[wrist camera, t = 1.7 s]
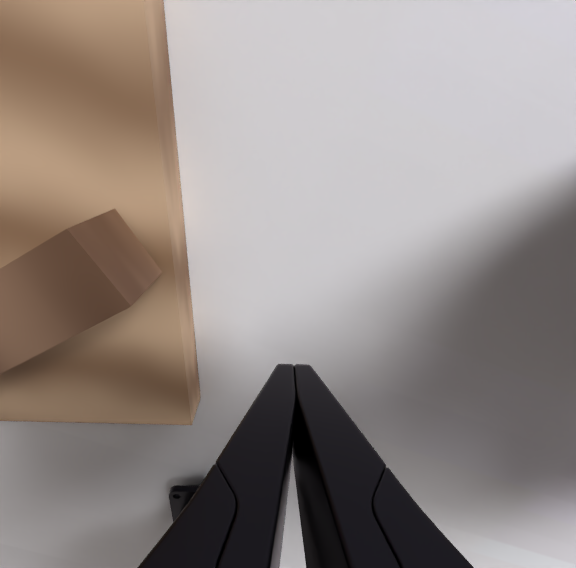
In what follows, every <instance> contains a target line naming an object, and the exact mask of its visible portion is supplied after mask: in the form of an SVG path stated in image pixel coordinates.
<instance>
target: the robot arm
mask: <svg viewBox="0 0 576 568" xmlns="http://www.w3.org/2000/svg"><path fill="white" fill-rule="evenodd" d="M292 448H293V463H294V471H295V479H296V487H297V496H298V504H299V512H300V520H301V528H302V536H303V544H304V552H305V560H306V568H474V567H473V566H472V565H471V564H470V563H469V562H468V561H467V560H466V559H465V558H464V556H463V555H462V554H461V553H460V552H459V551H458V550H457V549H456V548H455V547H454V546H453V544H452V543H451V542H450V541H449V540H448V539H447V538H446V537H445V536H444V535H443V533H442V532H441V531H440V530H439V529H438V528H437V527H436V526H435V524H434V523H433V522H432V521H431V520H430V519H429V518H428V516H427V515H426V514H425V513H424V512H423V511H422V510H421V508H420V507H419V506H418V505H417V504H416V502H415V501H414V500H413V499H412V497H411V496H410V495H409V494H408V492H407V491H406V490H405V489H404V487H403V486H402V485H401V484H400V482H399V481H398V480H397V478H396V477H395V476H394V474H393V473H392V472H391V470H390V469H389V468H386V464H385V463H384V461H383V460H382V459H381V458H380V456H379V455H378V454H377V452H376V451H375V450H374V448H373V447H372V446H371V444H370V443H369V442H368V440H367V439H366V438H365V437H364V435H363V434H362V433H361V431H360V430H359V429H358V427H357V426H356V425H355V423H354V422H353V421H352V419H351V418H350V417H349V415H348V414H347V413H346V412H345V410H344V409H343V408H342V406H341V405H340V404H339V402H338V401H337V400H336V398H335V397H334V396H333V394H332V393H331V392H330V391H329V389H328V388H327V387H326V385H325V384H324V383H323V381H322V380H321V379H320V377H319V376H318V375H317V373H316V372H315V371H314V369H313V368H312V367H311V366H310V365H303V364H296V365H295V366H293V365H292V364H278V365H277V366H276V368H275V369H274V371H273V372H272V374H271V376H270V377H269V379H268V380H267V382H266V383H265V385H264V387H263V388H262V390H261V391H260V393H259V394H258V396H257V398H256V399H255V401H254V402H253V404H252V405H251V407H250V409H249V410H248V412H247V413H246V415H245V416H244V418H243V420H242V421H241V423H240V424H239V426H238V427H237V429H236V431H235V432H234V434H233V435H232V437H231V438H230V440H229V442H228V443H227V445H226V446H225V448H224V450H223V451H222V453H221V454H220V456H219V457H218V459H217V461H216V464H215V465H213V466H212V468H211V470H210V471H209V473H208V474H207V476H206V477H205V479H204V481H203V482H202V484H201V485H200V486H173V487H172V488H171V490H170V494H169V499H170V505H171V511H172V516H173V524H172V525H171V526H170V528H169V529H168V530H167V532H166V533H165V534H164V535H163V537H162V538H161V539H160V540H159V542H158V543H157V544H156V545H155V547H154V548H153V549H152V550H151V552H150V553H149V554H148V555H147V557H146V558H145V559H144V560H143V562H142V563H141V564H140V565H139V567H138V568H279V566H280V558H281V549H282V540H283V531H284V523H285V514H286V505H287V496H288V488H289V479H290V470H291V460H292Z"/></svg>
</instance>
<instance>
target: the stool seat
mask: <svg viewBox="0 0 576 568" xmlns="http://www.w3.org/2000/svg"><path fill="white" fill-rule="evenodd" d="M112 209H116V210H117V212H118V213H119V214H120V216H121V217H122V219H123V220H124V221H125V223H126V224H127V225H128V227H129V228H130V229H131V231H132V232H133V233H134V235H135V236H136V237H137V239H138V240H139V241H140V243H141V244H142V245H143V247H144V248H145V249H146V251H147V252H148V253H149V255H150V256H151V257H152V259H153V260H154V261H155V263H156V264H157V265H158V267H159V268H160V270H161V271H162V273H161V274H160V275H159V277H158V278H157V279H156V280H155V281H154V282H153V283H152V284H151V285H150V286H149V288H148V289H147V290H146V291H145V292H144V293H143V294H142V295H141V296H140V298H139V299H138V300H137V301H136V302H135V303H134V304H133V305H132V306H131V307H129V308H128V309H126V310H124V311H122V312H120V313H118V314H116V315H114V316H112V317H110V318H108V319H106V320H104V321H102V322H100V323H98V324H96V325H95V326H93V327H91V328H89V329H87V330H85V331H83V332H81V333H79V334H77V335H75V336H73V337H71V338H69V339H67V340H65V341H64V342H62V343H60V344H58V345H56V346H54V347H52V348H50V349H48V350H46V351H44V352H42V353H40V354H38V355H36V356H34V357H33V358H31V359H29V360H27V361H25V362H23V363H21V364H19V365H17V366H15V367H13V368H11V369H9V370H7V371H5V372H3V373H2V374H0V421H34V422H78V423H122V424H166V425H192V423H193V420H194V417H195V414H196V410H197V407H198V404H199V401H200V387H199V377H198V366H197V355H196V345H195V334H194V323H193V312H192V302H191V291H190V280H189V270H188V259H187V248H186V238H185V227H184V216H183V205H182V195H181V184H180V173H179V163H178V152H177V141H176V131H175V120H174V109H173V98H172V88H171V77H170V66H169V56H168V45H167V34H166V24H165V13H164V2H163V0H0V268H2V267H4V266H5V265H7V264H9V263H10V262H12V261H14V260H15V259H17V258H19V257H20V256H22V255H24V254H25V253H27V252H29V251H30V250H32V249H34V248H35V247H37V246H39V245H40V244H42V243H44V242H45V241H47V240H49V239H50V238H52V237H54V236H55V235H57V234H59V233H60V232H62V231H64V230H65V229H67V228H69V227H72V226H74V225H77V224H79V223H81V222H84V221H86V220H89V219H91V218H93V217H96V216H98V215H100V214H103V213H105V212H108V211H110V210H112Z"/></svg>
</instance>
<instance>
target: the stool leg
mask: <svg viewBox="0 0 576 568" xmlns="http://www.w3.org/2000/svg"><path fill="white" fill-rule="evenodd" d="M161 273H162V271H161V270H160V268H159V267H158V265H157V264H156V263H155V261H154V260H153V259H152V257H151V256H150V255H149V253H148V252H147V251H146V249H145V248H144V247H143V245H142V244H141V243H140V241H139V240H138V239H137V237H136V236H135V235H134V233H133V232H132V231H131V229H130V228H129V227H128V225H127V224H126V223H125V221H124V220H123V219H122V217H121V216H120V214H119V213H118V212H117V210H116V209H112V210H110V211H108V212H105V213H103V214H100V215H98V216H96V217H93V218H91V219H89V220H86V221H84V222H81V223H79V224H77V225H74V226H72V227H69V228H67V229H65V230H64V231H62V232H60V233H59V234H57V235H55V236H54V237H52V238H50V239H49V240H47V241H45V242H44V243H42V244H40V245H39V246H37V247H35V248H34V249H32V250H30V251H29V252H27V253H25V254H24V255H22V256H20V257H19V258H17V259H15V260H14V261H12V262H10V263H9V264H7V265H5V266H4V267H2V268H0V374H2V373H3V372H5V371H7V370H9V369H11V368H13V367H15V366H17V365H19V364H21V363H23V362H25V361H27V360H29V359H31V358H33V357H34V356H36V355H38V354H40V353H42V352H44V351H46V350H48V349H50V348H52V347H54V346H56V345H58V344H60V343H62V342H64V341H65V340H67V339H69V338H71V337H73V336H75V335H77V334H79V333H81V332H83V331H85V330H87V329H89V328H91V327H93V326H95V325H96V324H98V323H100V322H102V321H104V320H106V319H108V318H110V317H112V316H114V315H116V314H118V313H120V312H122V311H124V310H126V309H128V308H129V307H131V306H132V305H133V304H134V303H135V302H136V301H137V300H138V299H139V298H140V296H141V295H142V294H143V293H144V292H145V291H146V290H147V289H148V288H149V286H150V285H151V284H152V283H153V282H154V281H155V280H156V279H157V278H158V277H159V275H160V274H161Z"/></svg>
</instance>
